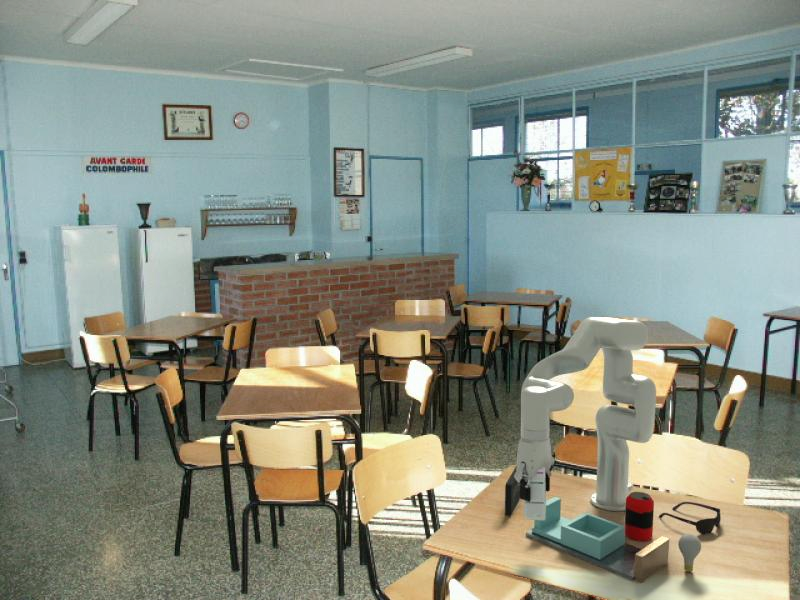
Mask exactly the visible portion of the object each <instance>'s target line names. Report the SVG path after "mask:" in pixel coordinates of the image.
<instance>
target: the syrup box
mask: <svg viewBox="0 0 800 600" xmlns="http://www.w3.org/2000/svg"><path fill="white" fill-rule="evenodd" d="M524 474H526V475H528V473H527V472H526V469H525V471H524ZM524 481H525V482H526V481H527V477H524ZM529 487H531V500H530V501H529V502H528V501H525V500H523V513H524V514H523V516H524V519H525V520H530V521H532V520H533V521H534V520H544V521H545V518H546V501H547V491H546V476H545V467H542V468H540V469H538V472H537V476H535V477H533V478H532V479H531V482H530V485H529Z"/></svg>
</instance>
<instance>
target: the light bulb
mask: <svg viewBox="0 0 800 600" xmlns="http://www.w3.org/2000/svg"><path fill="white" fill-rule="evenodd" d="M678 549H679V552H680V553H681V555H682V556H683V563H684V565H683V569H684V570H685V572H687V573H690V572H693V571H694V568H693V567H694V562H695V561H694V560H695V559H696V558H697V556H698V555H699V554H700V552H701V550H702V543H701V541H700V539H699V538H698V537H697V536H696V535H694V534H691V533H686V534H683V535H682V536H681V537H680V538H679V540H678Z"/></svg>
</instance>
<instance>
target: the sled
mask: <svg viewBox="0 0 800 600" xmlns="http://www.w3.org/2000/svg"><path fill="white" fill-rule="evenodd" d="M561 506H562V498H561V497H557V496H554V497H552V498H550V499H546V518H545V521H544V520H533V521H534V522H533V523H534V524H533V525H534V526H532V527H531V530H532V532H534V533H536V534H539V535H541V536H544V537H546V538H548V539H551V540H553V541H556V542H558V543H561V544H563V545H565V546H568V547H570V548H573V549H575V550H578V551H580V552H582V553H585V554H587V555H590V556H592V557H595V558H597V559H599V560H600V559H602V558H604V557H605V556H607V555H608V554H610V553H611V552H613V551H615V550H616V549H618V548H619V547H621V546H623V545H624V543H626V542H625V540H626V538H625V537H626V535H625V525H622V524H619V523H617V522H614V521H611V520H608V519H605V518H603V517H600V516H597V515H595V514H592V513H589V512H586V511H585V512H583V513H582V514H580V515H578V516H577V517H574V518H573V519H570V518H566V517H564V516H562V515H561V514H562V513H561V510H562V509H561V508H562V507H561Z"/></svg>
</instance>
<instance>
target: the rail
mask: <svg viewBox="0 0 800 600" xmlns="http://www.w3.org/2000/svg"><path fill="white" fill-rule="evenodd" d="M525 536H526V537H527V538H530V539H532V540H535V541H536V542H537V541H538V542H539V543H542V544H545V545H547V546H550V547H551V548H554V549H557V550H559V551H562V552H564V553H566V554H567V555H568V554H569V555H571V556H572V557H574V558H578V559H580V560H582V561H585V562H588V563H590V564H592V565H595V566H597V567H599V568H602V569H604V570H607V571H609V572H612V573H613V574H616V575H619V576H621V577H622V578H625V577H626V579H628V580H630V581H632V580H633V581H634V582H638V583H640V584H642V583H643V582H645V581H646V580H648V578H651V577H652V576H653V575H654V574H656V573H657V572H659V571H660V570H661V569H663V568H664V567H665V565H666V566H667V565H668V564H669V553H670V551H669V550H670V538H668V537H665V536H663V535H661V537H659V538H657V539H656V540H653V542H651V543H650V544H648V545H646V546H645V547H644V548H640V547H637V546H635V545H632V544H629V543H627V542H625V543H624V545H623V546H621V547H619V548H618V549H616V550H615V551H613V552H611V553H610V554H608V555H607V556H605V557H604V558H602V559H600V560H599V559H597V558H595V557H592V556H590V555H587V554H585V553H582V552H580V551H578V550H575V549H573V548H570V547H568V546H565V545H563V544H561V543H558V542H556V541H553V540H551V539H548V538H546V537H544V536H541V535H539V534H536V533H534V532H532V529H531V530H528V531H526V532H525Z"/></svg>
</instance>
